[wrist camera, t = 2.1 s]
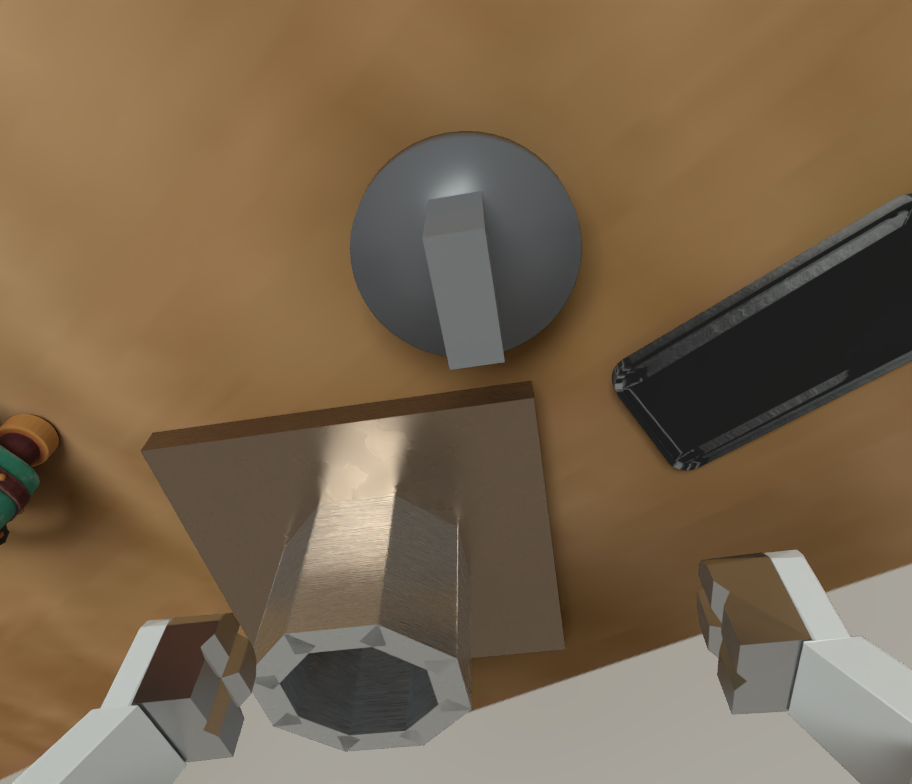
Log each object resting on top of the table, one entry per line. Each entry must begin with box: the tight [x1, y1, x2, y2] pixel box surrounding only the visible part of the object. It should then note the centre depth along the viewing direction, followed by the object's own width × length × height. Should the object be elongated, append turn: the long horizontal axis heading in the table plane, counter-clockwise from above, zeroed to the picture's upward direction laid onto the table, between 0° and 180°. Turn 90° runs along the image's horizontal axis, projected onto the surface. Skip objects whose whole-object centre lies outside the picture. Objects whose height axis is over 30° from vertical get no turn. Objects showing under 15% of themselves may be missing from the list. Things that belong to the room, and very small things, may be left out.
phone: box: [612, 193, 912, 470], centre depth 30 cm, size 8×1×15 cm
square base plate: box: [141, 381, 565, 752], centre depth 34 cm, size 20×20×10 cm
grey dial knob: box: [350, 131, 581, 370], centre depth 24 cm, size 9×9×7 cm
